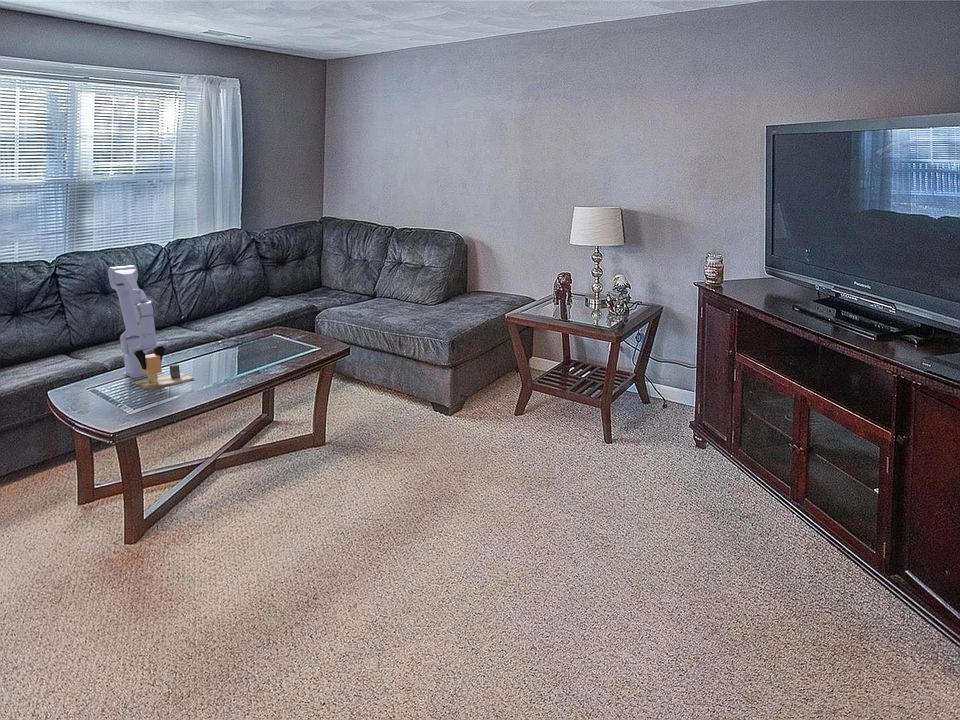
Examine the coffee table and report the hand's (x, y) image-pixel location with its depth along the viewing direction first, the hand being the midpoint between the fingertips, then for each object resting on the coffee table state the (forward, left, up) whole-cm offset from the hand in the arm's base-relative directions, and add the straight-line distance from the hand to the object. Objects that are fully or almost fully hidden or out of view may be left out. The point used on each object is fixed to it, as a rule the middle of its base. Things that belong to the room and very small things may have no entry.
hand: (151, 367), depth 285 cm
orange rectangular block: (0, 0, -2) cm, 2 cm away
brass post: (0, 0, -7) cm, 7 cm away
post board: (0, +5, -7) cm, 8 cm away
